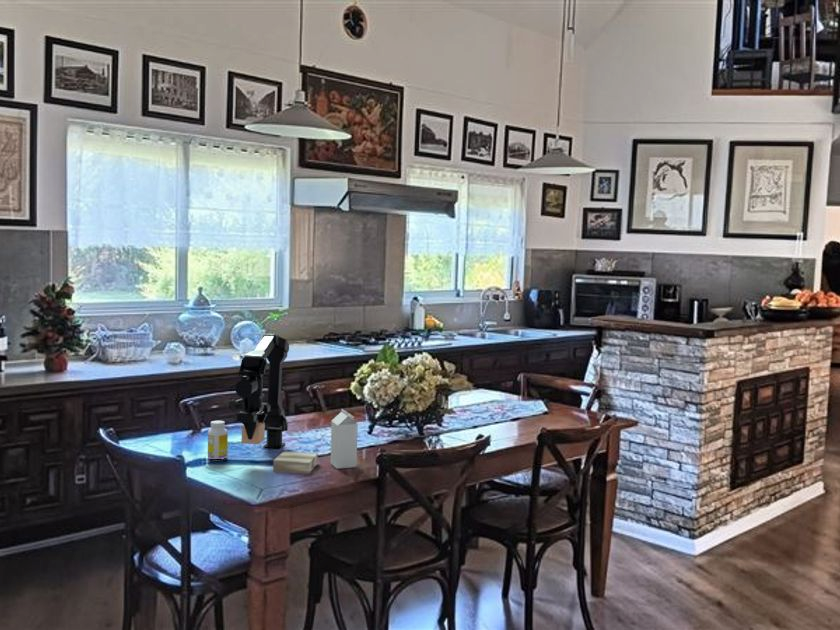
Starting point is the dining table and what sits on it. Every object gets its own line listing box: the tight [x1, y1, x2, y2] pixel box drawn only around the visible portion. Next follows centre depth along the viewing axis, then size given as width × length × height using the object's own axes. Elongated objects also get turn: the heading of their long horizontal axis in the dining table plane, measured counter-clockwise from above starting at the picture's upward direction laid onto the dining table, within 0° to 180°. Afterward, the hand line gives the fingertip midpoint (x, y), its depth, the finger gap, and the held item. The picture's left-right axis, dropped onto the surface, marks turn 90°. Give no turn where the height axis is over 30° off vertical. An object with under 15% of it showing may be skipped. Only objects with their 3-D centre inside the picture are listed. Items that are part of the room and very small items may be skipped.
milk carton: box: [330, 408, 359, 469], centre depth 277 cm, size 7×7×19 cm
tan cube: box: [241, 422, 266, 445], centre depth 274 cm, size 6×6×6 cm
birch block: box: [272, 450, 319, 475], centre depth 274 cm, size 12×12×4 cm
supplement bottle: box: [207, 420, 229, 460], centre depth 281 cm, size 7×7×13 cm
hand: (253, 437), depth 275 cm, fingers closed on tan cube, 6 cm apart
